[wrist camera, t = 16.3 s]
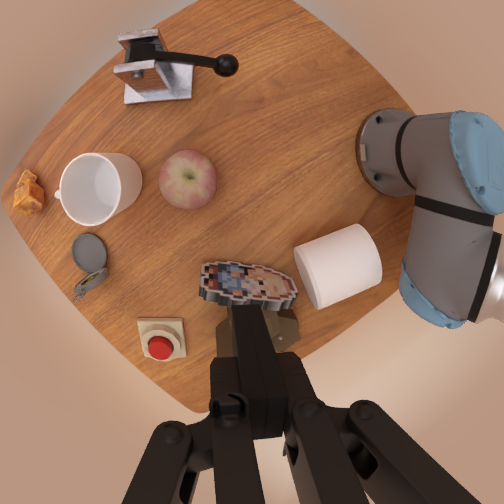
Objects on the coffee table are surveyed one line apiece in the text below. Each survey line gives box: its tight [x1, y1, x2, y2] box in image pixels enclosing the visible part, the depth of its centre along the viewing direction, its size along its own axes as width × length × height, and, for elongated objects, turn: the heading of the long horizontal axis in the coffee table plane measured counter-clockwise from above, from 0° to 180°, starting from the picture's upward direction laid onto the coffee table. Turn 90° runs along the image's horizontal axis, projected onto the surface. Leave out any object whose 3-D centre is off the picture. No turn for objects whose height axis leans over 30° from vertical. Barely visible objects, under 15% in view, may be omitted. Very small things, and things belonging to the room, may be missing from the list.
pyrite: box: [14, 169, 44, 218], centre depth 33 cm, size 5×7×4 cm
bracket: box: [114, 28, 194, 105], centre depth 27 cm, size 10×7×14 cm, turn 89°
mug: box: [55, 153, 142, 226], centre depth 32 cm, size 9×12×11 cm
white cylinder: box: [293, 224, 382, 310], centre depth 42 cm, size 13×10×10 cm
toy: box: [199, 261, 298, 311], centre depth 40 cm, size 14×2×10 cm, turn 79°
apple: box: [158, 150, 217, 209], centre depth 35 cm, size 8×8×8 cm
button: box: [148, 336, 172, 360], centre depth 43 cm, size 4×4×2 cm
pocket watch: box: [72, 233, 110, 301], centre depth 36 cm, size 8×8×10 cm
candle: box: [216, 307, 300, 357], centre depth 41 cm, size 14×14×15 cm
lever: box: [124, 42, 239, 77], centre depth 26 cm, size 14×3×3 cm, turn 89°
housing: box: [137, 318, 187, 361], centre depth 45 cm, size 8×8×3 cm
